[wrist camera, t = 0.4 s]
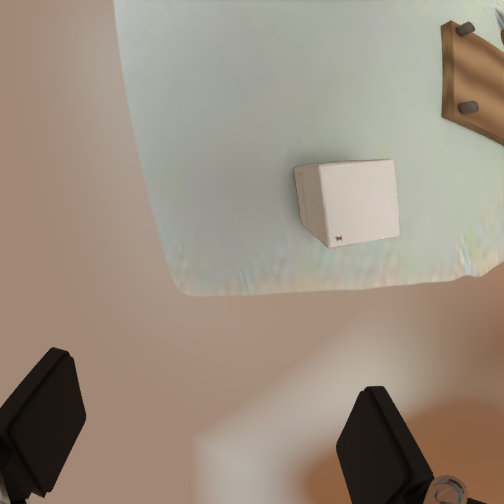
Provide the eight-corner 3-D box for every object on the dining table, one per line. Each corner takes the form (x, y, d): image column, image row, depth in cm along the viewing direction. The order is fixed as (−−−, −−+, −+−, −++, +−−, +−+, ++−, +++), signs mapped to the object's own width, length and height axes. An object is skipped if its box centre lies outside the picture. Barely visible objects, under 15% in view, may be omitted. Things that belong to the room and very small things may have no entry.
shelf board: (440, 26, 31) (462, 14, 25) (507, 65, 32) (529, 60, 26) (441, 117, 35) (466, 112, 29) (508, 148, 36) (533, 149, 30)
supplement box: (355, 216, 39) (401, 239, 26) (300, 224, 39) (326, 251, 26) (350, 159, 37) (396, 158, 24) (292, 165, 37) (317, 164, 24)
